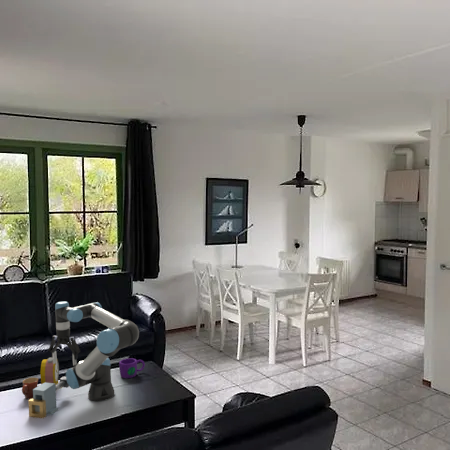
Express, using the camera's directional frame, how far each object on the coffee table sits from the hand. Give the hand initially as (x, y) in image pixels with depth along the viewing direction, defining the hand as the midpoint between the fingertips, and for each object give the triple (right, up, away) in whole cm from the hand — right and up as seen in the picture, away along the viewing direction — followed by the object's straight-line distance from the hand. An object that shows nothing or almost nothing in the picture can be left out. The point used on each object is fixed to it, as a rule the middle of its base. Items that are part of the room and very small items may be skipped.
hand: (64, 363), depth 280 cm
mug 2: (+34, -17, +33) cm, 50 cm away
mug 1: (-21, -21, +1) cm, 29 cm away
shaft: (-2, -14, -7) cm, 16 cm away
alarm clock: (-14, -19, +16) cm, 29 cm away
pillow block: (-5, -21, -17) cm, 28 cm away
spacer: (-7, -22, -23) cm, 32 cm away
